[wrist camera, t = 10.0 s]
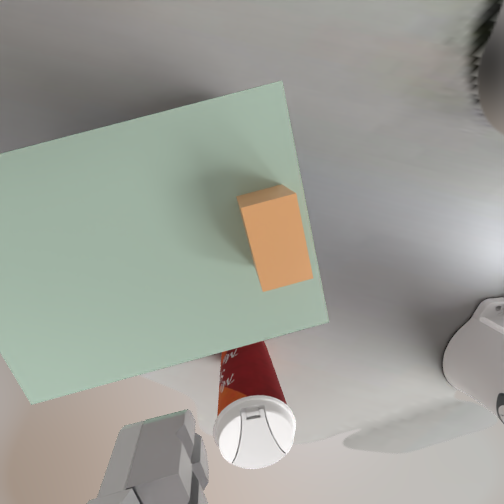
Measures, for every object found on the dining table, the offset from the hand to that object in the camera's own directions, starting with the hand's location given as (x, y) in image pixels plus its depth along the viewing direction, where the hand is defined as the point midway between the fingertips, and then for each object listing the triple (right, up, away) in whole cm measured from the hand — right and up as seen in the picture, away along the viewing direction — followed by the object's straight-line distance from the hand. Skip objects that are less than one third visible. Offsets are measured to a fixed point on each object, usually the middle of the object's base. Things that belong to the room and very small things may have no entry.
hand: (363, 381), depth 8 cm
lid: (-10, +3, +15) cm, 18 cm away
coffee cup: (-4, -10, +38) cm, 40 cm away
